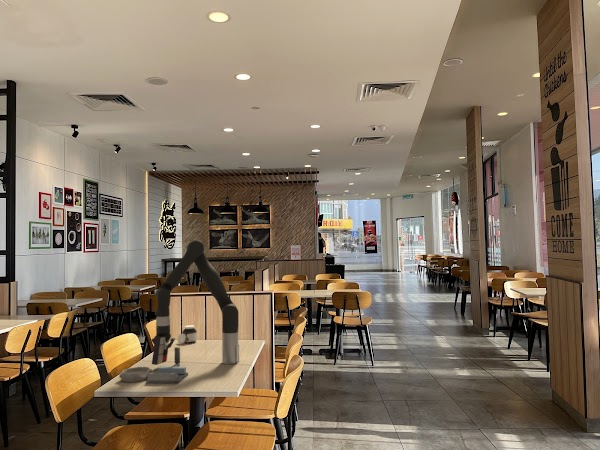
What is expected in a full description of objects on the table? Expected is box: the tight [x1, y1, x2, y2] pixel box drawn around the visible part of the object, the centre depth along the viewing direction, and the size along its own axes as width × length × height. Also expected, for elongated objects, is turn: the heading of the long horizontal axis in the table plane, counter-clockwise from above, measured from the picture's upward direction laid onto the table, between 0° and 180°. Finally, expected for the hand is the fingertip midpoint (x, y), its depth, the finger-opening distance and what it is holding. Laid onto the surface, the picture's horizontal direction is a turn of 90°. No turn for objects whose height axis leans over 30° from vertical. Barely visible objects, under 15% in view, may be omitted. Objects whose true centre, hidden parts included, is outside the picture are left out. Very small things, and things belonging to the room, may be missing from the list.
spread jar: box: [177, 324, 198, 345], centre depth 340 cm, size 12×11×12 cm
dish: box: [119, 366, 154, 383], centre depth 246 cm, size 14×14×5 cm
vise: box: [145, 372, 189, 385], centre depth 244 cm, size 16×16×4 cm
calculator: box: [151, 335, 170, 366], centre depth 268 cm, size 11×4×15 cm, turn 168°
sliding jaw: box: [157, 346, 187, 374], centre depth 254 cm, size 11×14×11 cm
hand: (163, 355), depth 267 cm, fingers closed on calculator, 1 cm apart
